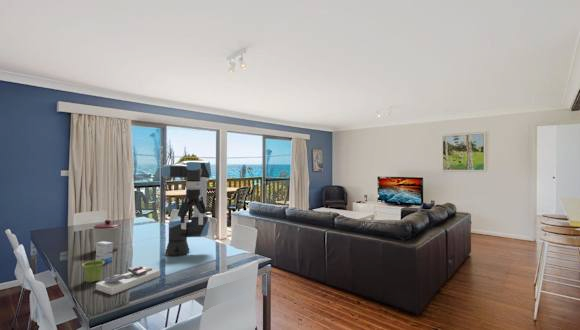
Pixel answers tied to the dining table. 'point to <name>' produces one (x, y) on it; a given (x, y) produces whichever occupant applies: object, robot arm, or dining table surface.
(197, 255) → the dining table surface
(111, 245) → the ink box
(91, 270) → the plant pot
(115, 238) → the canister
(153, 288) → the dining table surface
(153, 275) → the power strip
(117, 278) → the slate rocker
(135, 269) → the charcoal rocker
